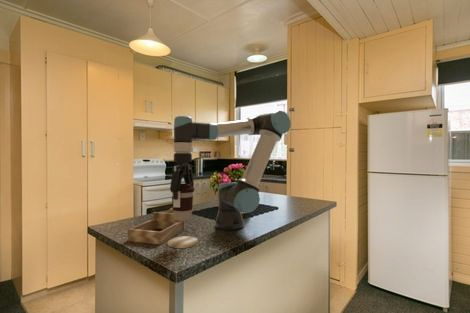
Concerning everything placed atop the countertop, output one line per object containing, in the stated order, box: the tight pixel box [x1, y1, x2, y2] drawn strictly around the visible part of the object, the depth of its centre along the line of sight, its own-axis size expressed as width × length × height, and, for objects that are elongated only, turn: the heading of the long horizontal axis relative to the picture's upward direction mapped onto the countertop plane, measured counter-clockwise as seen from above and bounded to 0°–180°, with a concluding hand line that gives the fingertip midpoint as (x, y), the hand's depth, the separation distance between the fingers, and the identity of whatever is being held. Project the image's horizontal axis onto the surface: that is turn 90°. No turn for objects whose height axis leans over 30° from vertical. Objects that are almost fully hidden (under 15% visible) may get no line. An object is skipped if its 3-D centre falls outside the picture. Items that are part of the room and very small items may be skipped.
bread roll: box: [166, 206, 173, 213], centre depth 154 cm, size 10×10×8 cm
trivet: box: [166, 235, 199, 249], centre depth 111 cm, size 13×13×1 cm
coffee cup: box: [170, 182, 195, 222], centre depth 110 cm, size 10×10×15 cm
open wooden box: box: [127, 211, 185, 245], centre depth 121 cm, size 16×21×8 cm
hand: (182, 204), depth 110 cm, fingers closed on coffee cup, 10 cm apart
